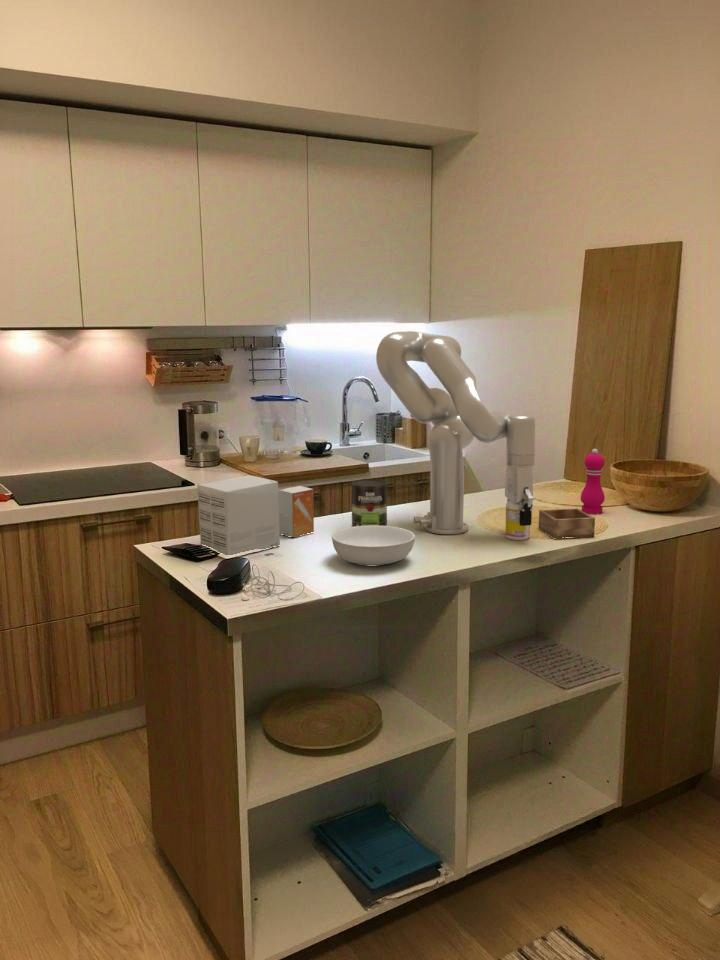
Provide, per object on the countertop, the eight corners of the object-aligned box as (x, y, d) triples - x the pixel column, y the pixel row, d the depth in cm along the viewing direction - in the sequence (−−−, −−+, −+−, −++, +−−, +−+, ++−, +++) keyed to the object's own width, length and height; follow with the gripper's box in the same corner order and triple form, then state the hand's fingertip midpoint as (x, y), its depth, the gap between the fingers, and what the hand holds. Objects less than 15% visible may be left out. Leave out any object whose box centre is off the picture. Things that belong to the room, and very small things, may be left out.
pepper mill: (606, 514, 248) (610, 450, 244) (583, 514, 248) (586, 450, 244) (600, 509, 255) (603, 446, 251) (577, 509, 255) (580, 446, 251)
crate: (554, 539, 221) (555, 520, 220) (538, 528, 232) (539, 510, 231) (594, 537, 223) (595, 518, 222) (576, 526, 234) (577, 508, 233)
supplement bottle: (515, 533, 228) (517, 488, 225) (534, 537, 223) (536, 492, 220) (500, 537, 224) (501, 492, 221) (518, 542, 219) (520, 496, 216)
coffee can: (388, 534, 227) (388, 485, 224) (352, 535, 227) (351, 486, 224) (386, 525, 237) (386, 478, 234) (351, 526, 237) (350, 479, 234)
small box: (293, 538, 224) (292, 493, 221) (278, 534, 228) (277, 489, 225) (314, 533, 229) (313, 488, 227) (300, 529, 234) (299, 485, 231)
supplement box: (251, 537, 225) (249, 474, 221) (281, 547, 216) (279, 481, 212) (198, 550, 213) (195, 483, 210) (228, 561, 204) (225, 491, 200)
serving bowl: (431, 560, 203) (432, 534, 202) (373, 580, 189) (373, 551, 187) (373, 544, 218) (373, 519, 216) (314, 561, 203) (314, 535, 202)
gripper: (496, 455, 227) (495, 514, 230) (518, 465, 210) (516, 529, 213) (522, 454, 228) (521, 513, 231) (545, 464, 211) (543, 527, 214)
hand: (519, 520), depth 222 cm, fingers open, 9 cm apart
